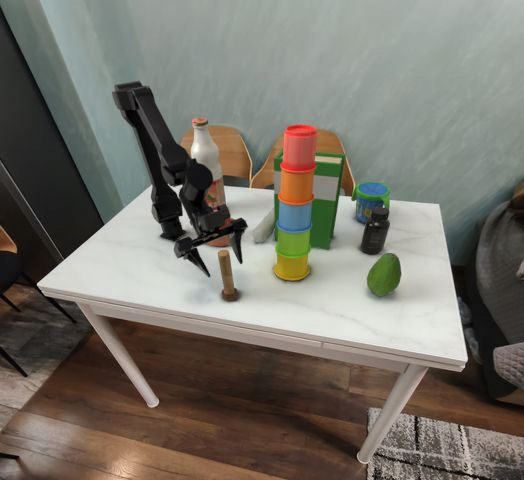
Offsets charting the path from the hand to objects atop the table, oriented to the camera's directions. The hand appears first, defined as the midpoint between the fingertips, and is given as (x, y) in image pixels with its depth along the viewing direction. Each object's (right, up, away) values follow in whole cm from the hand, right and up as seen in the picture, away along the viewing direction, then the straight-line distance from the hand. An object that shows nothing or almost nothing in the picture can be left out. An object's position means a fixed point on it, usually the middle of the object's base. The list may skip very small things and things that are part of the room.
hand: (226, 270), depth 76 cm
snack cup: (+45, +25, +29) cm, 60 cm away
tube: (+13, +23, +29) cm, 39 cm away
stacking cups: (+18, +3, +13) cm, 22 cm away
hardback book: (+23, +16, +23) cm, 36 cm away
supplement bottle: (+43, +11, +18) cm, 48 cm away
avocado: (+40, -5, +5) cm, 41 cm away
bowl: (-4, +18, +25) cm, 31 cm away
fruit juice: (-9, +32, +37) cm, 50 cm away
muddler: (0, -5, +6) cm, 8 cm away
